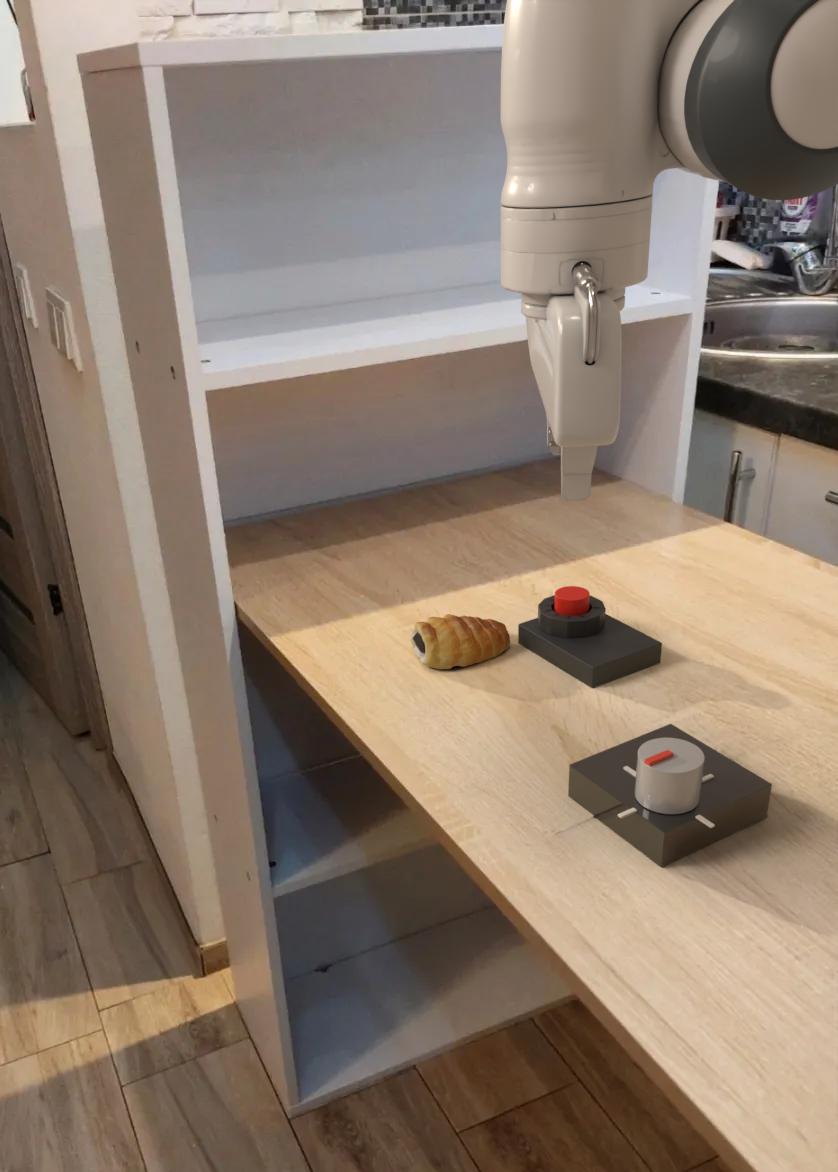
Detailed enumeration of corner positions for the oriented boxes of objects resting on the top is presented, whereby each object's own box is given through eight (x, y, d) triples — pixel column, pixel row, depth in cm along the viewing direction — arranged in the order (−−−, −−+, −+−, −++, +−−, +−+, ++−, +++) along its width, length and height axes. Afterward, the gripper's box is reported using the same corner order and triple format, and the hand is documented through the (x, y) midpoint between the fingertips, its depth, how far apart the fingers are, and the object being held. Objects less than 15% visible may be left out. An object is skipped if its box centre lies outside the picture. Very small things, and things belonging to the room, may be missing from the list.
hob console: (667, 755, 82) (670, 721, 80) (781, 827, 73) (787, 791, 72) (554, 802, 78) (555, 768, 76) (660, 885, 69) (664, 848, 67)
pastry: (494, 629, 103) (494, 595, 101) (521, 659, 98) (522, 623, 96) (405, 647, 101) (404, 612, 99) (428, 678, 96) (426, 642, 94)
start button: (574, 599, 99) (574, 583, 98) (595, 611, 97) (596, 594, 96) (547, 608, 98) (547, 591, 97) (568, 620, 96) (569, 603, 95)
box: (582, 621, 103) (583, 585, 101) (660, 663, 95) (664, 625, 93) (517, 643, 100) (517, 606, 98) (592, 689, 92) (594, 650, 90)
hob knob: (668, 771, 75) (672, 727, 73) (713, 800, 71) (719, 755, 70) (621, 791, 73) (624, 746, 71) (665, 822, 70) (669, 776, 68)
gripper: (657, 275, 53) (639, 527, 60) (605, 228, 71) (596, 428, 78) (533, 284, 54) (530, 532, 61) (512, 235, 71) (511, 433, 78)
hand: (567, 473), depth 69 cm, fingers open, 8 cm apart
